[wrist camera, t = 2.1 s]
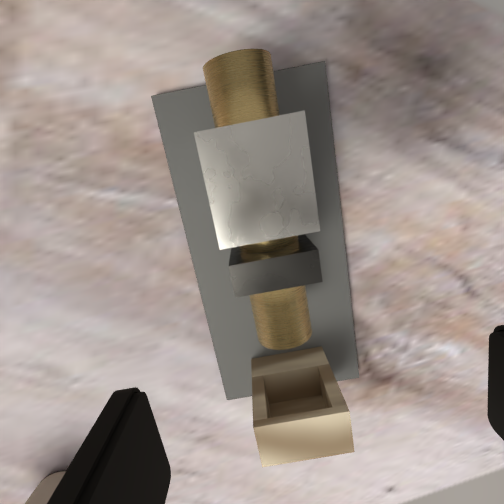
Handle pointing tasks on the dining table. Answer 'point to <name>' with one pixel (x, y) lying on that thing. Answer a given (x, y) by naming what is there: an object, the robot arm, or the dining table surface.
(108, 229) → the dining table surface
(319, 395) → the socket
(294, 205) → the sleeve
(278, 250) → the tube
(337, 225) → the board
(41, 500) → the coffee cup
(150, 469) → the robot arm
